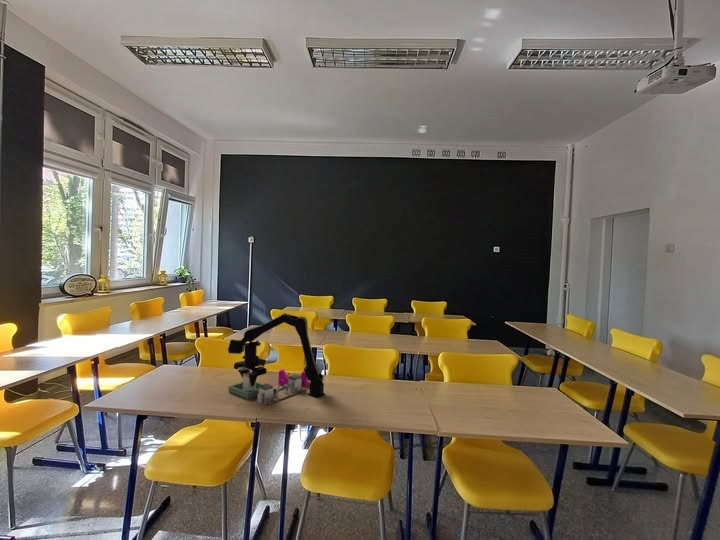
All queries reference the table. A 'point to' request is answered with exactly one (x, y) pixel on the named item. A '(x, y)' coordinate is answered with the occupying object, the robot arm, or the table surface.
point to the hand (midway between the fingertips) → (249, 385)
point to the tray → (244, 391)
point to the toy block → (285, 379)
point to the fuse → (247, 382)
